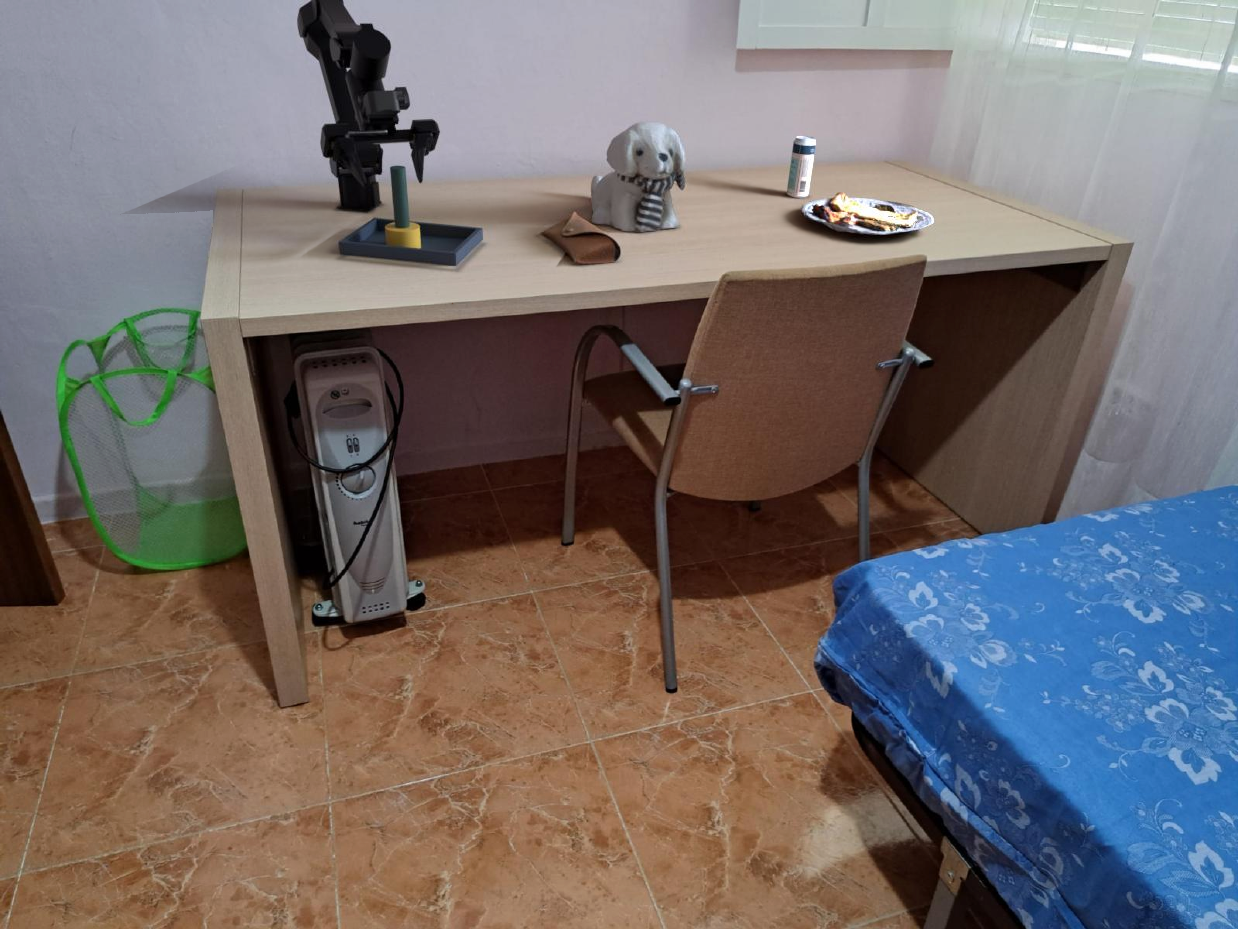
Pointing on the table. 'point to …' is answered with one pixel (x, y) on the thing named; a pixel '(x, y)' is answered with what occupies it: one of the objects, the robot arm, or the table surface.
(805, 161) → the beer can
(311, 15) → the robot arm
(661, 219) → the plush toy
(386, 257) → the tray
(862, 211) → the food plate
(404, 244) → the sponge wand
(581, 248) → the sunglasses case
